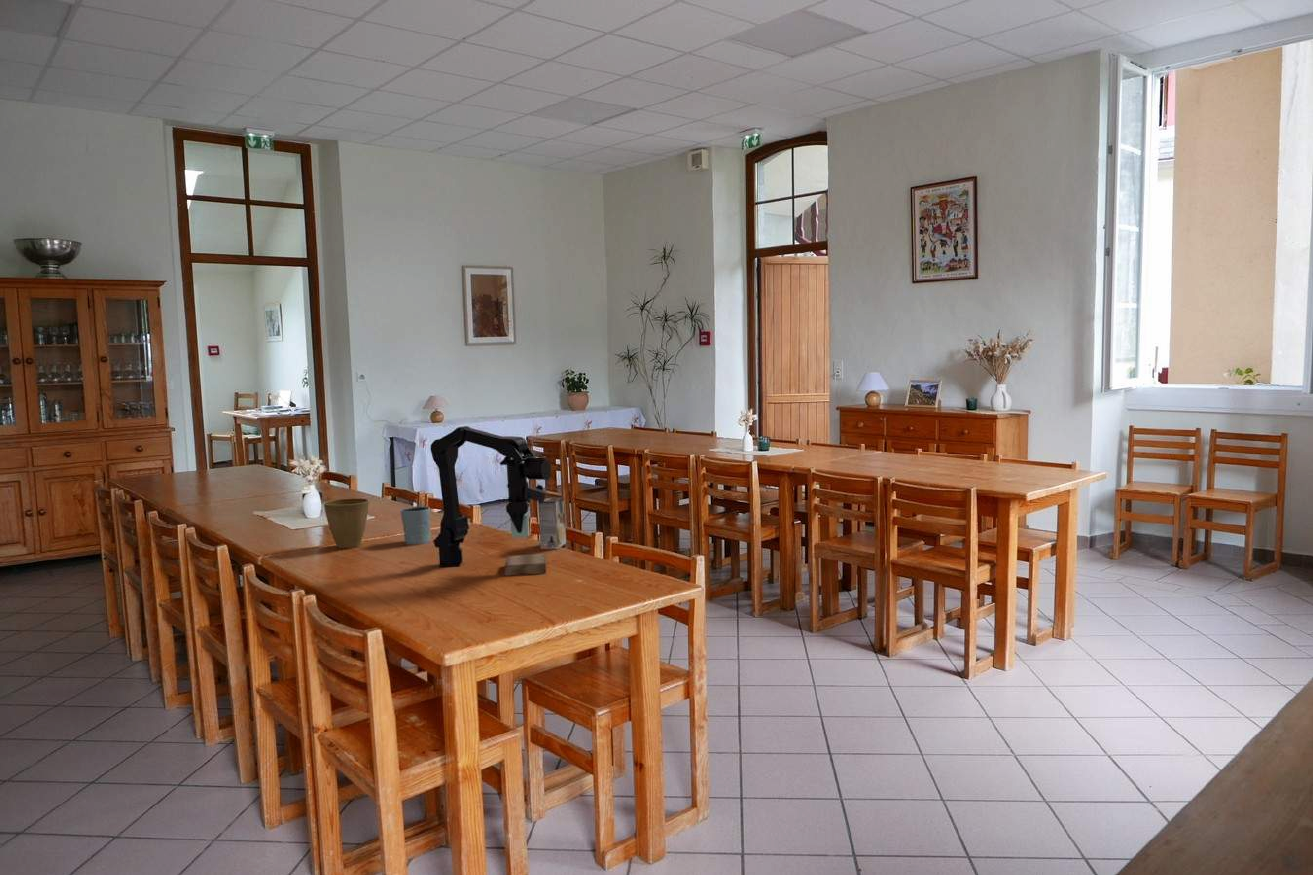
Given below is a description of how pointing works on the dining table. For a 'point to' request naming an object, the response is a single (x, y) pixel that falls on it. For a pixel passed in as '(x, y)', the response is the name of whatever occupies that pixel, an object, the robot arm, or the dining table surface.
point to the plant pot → (347, 520)
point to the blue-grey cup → (416, 525)
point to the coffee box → (552, 523)
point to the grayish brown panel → (525, 564)
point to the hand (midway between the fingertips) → (520, 530)
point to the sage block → (524, 528)
